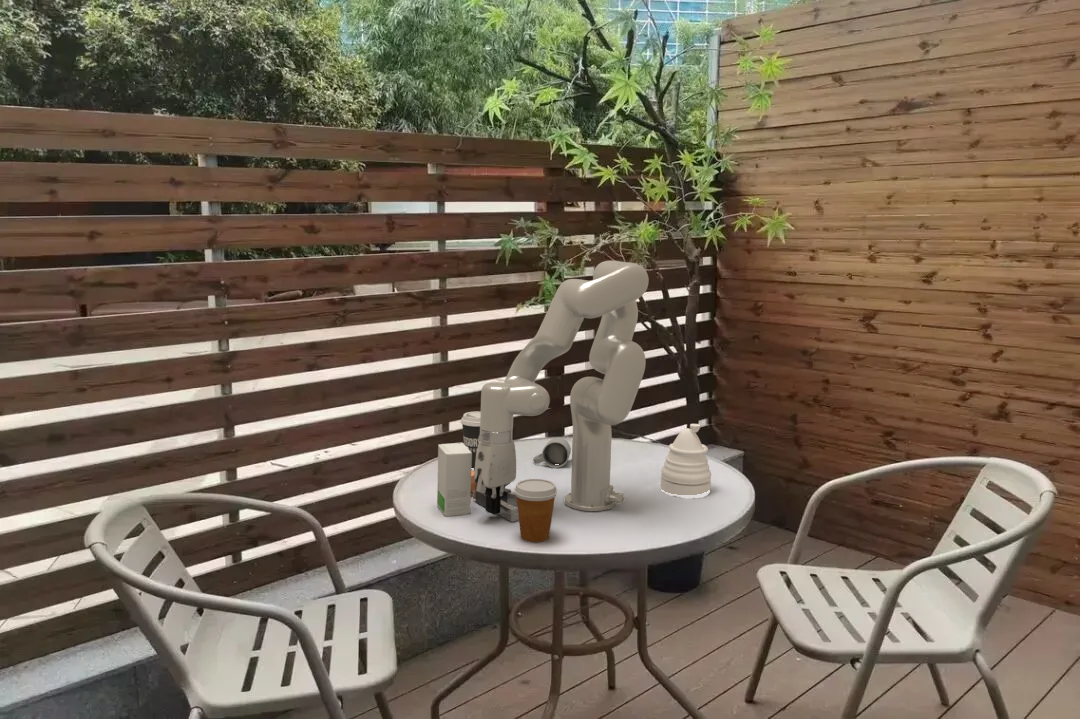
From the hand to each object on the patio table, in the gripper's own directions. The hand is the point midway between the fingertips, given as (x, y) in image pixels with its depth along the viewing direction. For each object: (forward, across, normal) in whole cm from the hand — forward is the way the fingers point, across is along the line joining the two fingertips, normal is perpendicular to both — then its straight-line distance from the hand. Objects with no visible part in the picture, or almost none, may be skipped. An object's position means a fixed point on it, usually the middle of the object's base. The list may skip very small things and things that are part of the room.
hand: (492, 512), depth 191 cm
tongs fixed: (+1, +9, +3) cm, 10 cm away
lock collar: (+1, +7, +15) cm, 16 cm away
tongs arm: (+1, +4, +3) cm, 5 cm away
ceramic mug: (+1, +42, +16) cm, 45 cm away
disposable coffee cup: (+2, -2, -15) cm, 15 cm away
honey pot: (0, +48, -24) cm, 54 cm away
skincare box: (+2, -2, +10) cm, 11 cm away
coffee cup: (+1, +26, +30) cm, 40 cm away
